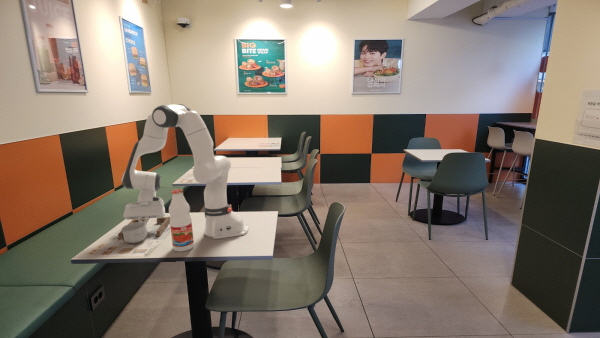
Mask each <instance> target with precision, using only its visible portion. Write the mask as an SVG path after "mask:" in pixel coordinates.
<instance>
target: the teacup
mask: <svg viewBox="0 0 600 338" xmlns="http://www.w3.org/2000/svg"><path fill="white" fill-rule="evenodd" d="M121 230H122V232H123V236H124V238H123V239H124V241H125V242H127V243H129V244H139V243H141V242H142V241H144V240H145V238H146V237H147V235H148V230H147V224H146V223H144V222H143V221H139V222H135V223H131V224H129V223H127V224H126V225H124V226H122V227H121ZM121 230H120V231H121Z"/></svg>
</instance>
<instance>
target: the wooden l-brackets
mask: <svg viewBox="0 0 600 338" xmlns="http://www.w3.org/2000/svg"><path fill="white" fill-rule="evenodd" d="M170 217H171V216H164V217H162V218H156V224H161V225H160V226H159V227H158V229H157V230H156V237H161V236H162V235H163V233H164V232H165V231H166V229H167V227H168V226H169V225H170ZM145 220H146V219H142V220H141V221H143V222H144V221H145ZM135 222H139V221H138V219H131V220H130V221H129V222H128V224H131V223H135ZM147 224H148V222H147V223H146V225H147ZM117 236H118V240H123V239H124V236H123V232H122V230H120V231H119V232H118V234H117Z"/></svg>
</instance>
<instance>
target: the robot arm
mask: <svg viewBox="0 0 600 338" xmlns="http://www.w3.org/2000/svg"><path fill="white" fill-rule="evenodd" d="M178 127H179V128H180V129H181V130H182V132H183V134H184V136H185V139H186V140H187V142H188V146H189V148H190V149H191V153H192V157H193V163H194V166H193V171H192V175H193V178H194V180H195V181H196V182H198V183H200V184H206V185H205V188H204V190H203V198H204V199H203V200H204V207H203V212H204V218H205V227H204V232H203V234H204V235H205V236H206V237H209V238H212V239H214V240H217V239H226V238H231V237H233V238H234V237H238V236H244V235H246V234H247V233H248V232H249V225H248V224H247V223H245V222H244V219H243V217H242V215H240V214H238V213H237V212H234V210H233V208H232V204H228V198H227V197H228V196H227V187H228V177H229V173H230V170H231V166H232V163H231V160H230V159H229V158H228V157H227V156H225V155H214V141H213V138H212V136H211V134H210V131H209V129H208V128H207V125H206V123H205V121H204V120H203V118H202V116H201V115H200V114H199V112H197V111H196V110H191V108H190V107H189V106H187V105H185V104H181V103H180V104H178V103H177V104H176V103H175V104H173V103H172V104H171V103H169V104H164V105H163V104H162V105H158V106H156V107H155V108H153V110H152V113H150V114H149V115H148V116H147V118H146V121H145V124H144V128H143V133H142V134H143V135H142V137H141V138H140V140H138V141H136V142H135V143H134V146H133V148H132V151H131V153H130V156H129V159H128V163H127V166H126V169H125V170H124V173H123V175H122V177H121V184H122V186H123V187H124V188H126V189H127V190H130V189H131V190H139V193H138V196H137V201H136V202H129V203H127V204H126V205H125V208H124V212H123V216H122V217H123V218H124V219H125V220H127V221H129V220H130V221H131V220H133V219H138V221H141V220H142V219H146V220H145V221H144V223H147V224H148V222H149V221H150V219H157V218H162V217H166V208H165V201H164V200H163V199H162V198H161V197H160V196H159V197H158V196H157V195H156V194H157V192H158V191H159V190H160V189H161V182H162V176H160V174H159V173H157V172H153V171H152V172H151V171H145V170H144V171H143V170H137V169H136V168H137V164H138V161H139V159H140V157H141V156H143V155H145V154H151V153H157V152H159V151H161V150H163V149H164V147H165V146H166V145H167V144H166V143H167V139H168V131H169V129H170V128H178Z"/></svg>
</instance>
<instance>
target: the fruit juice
mask: <svg viewBox="0 0 600 338" xmlns="http://www.w3.org/2000/svg"><path fill="white" fill-rule="evenodd" d="M171 195H172V197H171V201H170V204H169V206H168V213H169V217H170V224H169V225H170V227H169V228H170V234H171V235H170V237H171V243H172V249H173V250H174V252H181V253H182V252H186V251H190V250H191V249H193V248H194V245H195V240H194V231H193V224H192V216H191V214H190V212H191V206H190V204H189V203H188V202H187V200H186V197H185V196H184V189H182V188H175V189H172V190H171Z"/></svg>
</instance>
